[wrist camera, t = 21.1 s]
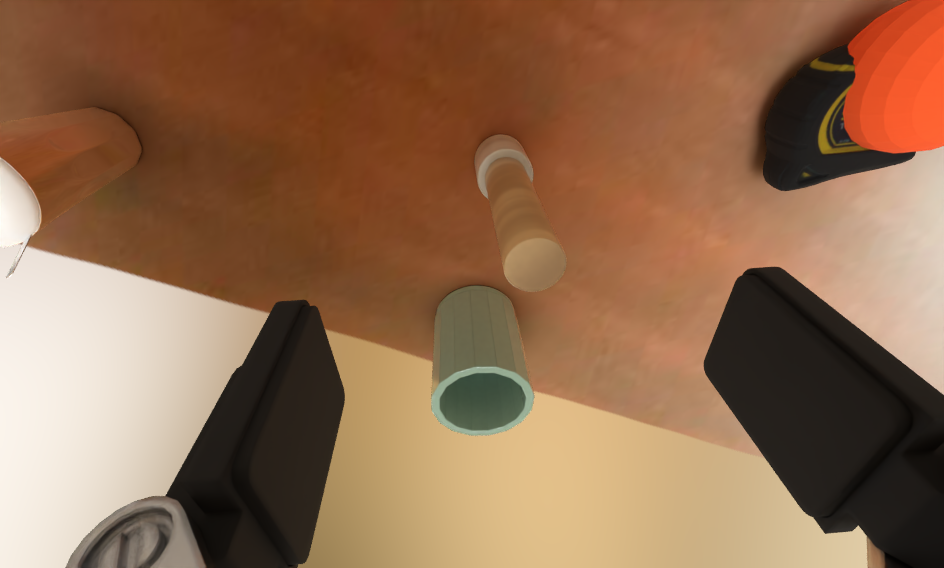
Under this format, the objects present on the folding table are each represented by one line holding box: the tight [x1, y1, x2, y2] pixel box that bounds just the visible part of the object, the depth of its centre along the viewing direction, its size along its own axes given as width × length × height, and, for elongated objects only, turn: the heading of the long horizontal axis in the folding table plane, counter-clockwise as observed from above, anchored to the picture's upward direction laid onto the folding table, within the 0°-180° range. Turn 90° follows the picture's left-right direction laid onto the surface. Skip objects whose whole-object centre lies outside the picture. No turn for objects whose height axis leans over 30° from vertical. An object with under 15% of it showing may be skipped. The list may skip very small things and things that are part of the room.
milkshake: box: [0, 107, 142, 278], centre depth 19 cm, size 4×5×10 cm
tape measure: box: [763, 43, 916, 191], centre depth 22 cm, size 7×7×4 cm
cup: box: [431, 286, 534, 436], centre depth 27 cm, size 6×6×8 cm
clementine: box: [843, 0, 944, 153], centre depth 19 cm, size 8×7×7 cm
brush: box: [474, 134, 567, 292], centre depth 19 cm, size 3×3×12 cm
